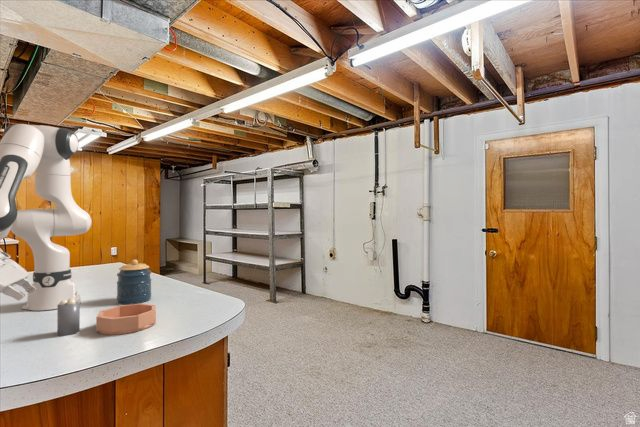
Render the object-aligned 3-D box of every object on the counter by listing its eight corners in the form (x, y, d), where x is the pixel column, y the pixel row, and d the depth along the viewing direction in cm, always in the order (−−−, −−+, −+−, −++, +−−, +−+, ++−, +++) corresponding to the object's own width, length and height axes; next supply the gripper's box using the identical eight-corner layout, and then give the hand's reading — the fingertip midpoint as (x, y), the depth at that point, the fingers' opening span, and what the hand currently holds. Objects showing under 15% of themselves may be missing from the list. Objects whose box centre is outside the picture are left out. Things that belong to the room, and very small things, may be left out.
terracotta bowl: (101, 322, 112) (102, 307, 112) (155, 315, 120) (155, 301, 120) (93, 338, 98) (93, 321, 98) (155, 329, 105) (155, 313, 105)
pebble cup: (59, 331, 104) (60, 298, 104) (81, 328, 106) (81, 296, 106) (55, 337, 99) (55, 302, 99) (77, 334, 101) (77, 300, 101)
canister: (150, 295, 150) (150, 256, 150) (152, 302, 139) (152, 260, 139) (116, 299, 143) (117, 258, 143) (116, 306, 132) (116, 262, 132)
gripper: (-24, 259, 86) (25, 293, 90) (8, 252, 104) (47, 280, 108) (-48, 278, 84) (3, 312, 88) (-11, 267, 102) (30, 295, 106)
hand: (28, 294), depth 98 cm, fingers open, 8 cm apart
